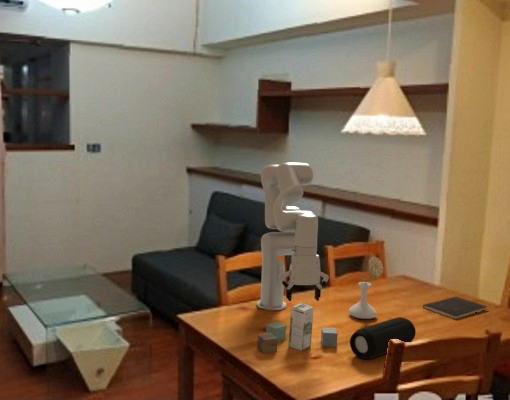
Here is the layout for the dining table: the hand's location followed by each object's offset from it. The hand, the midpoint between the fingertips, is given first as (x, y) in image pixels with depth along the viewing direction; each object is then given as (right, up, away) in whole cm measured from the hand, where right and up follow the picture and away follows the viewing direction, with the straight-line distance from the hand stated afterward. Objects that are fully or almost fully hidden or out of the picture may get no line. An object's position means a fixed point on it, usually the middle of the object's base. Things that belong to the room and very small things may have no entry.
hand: (303, 299), depth 181 cm
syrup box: (-1, -17, +3) cm, 17 cm away
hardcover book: (+71, -14, +50) cm, 88 cm away
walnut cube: (-12, -17, -1) cm, 21 cm away
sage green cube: (-9, -16, +10) cm, 20 cm away
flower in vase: (+28, -14, +36) cm, 48 cm away
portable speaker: (+28, -18, +3) cm, 33 cm away
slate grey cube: (+10, -17, +7) cm, 21 cm away
